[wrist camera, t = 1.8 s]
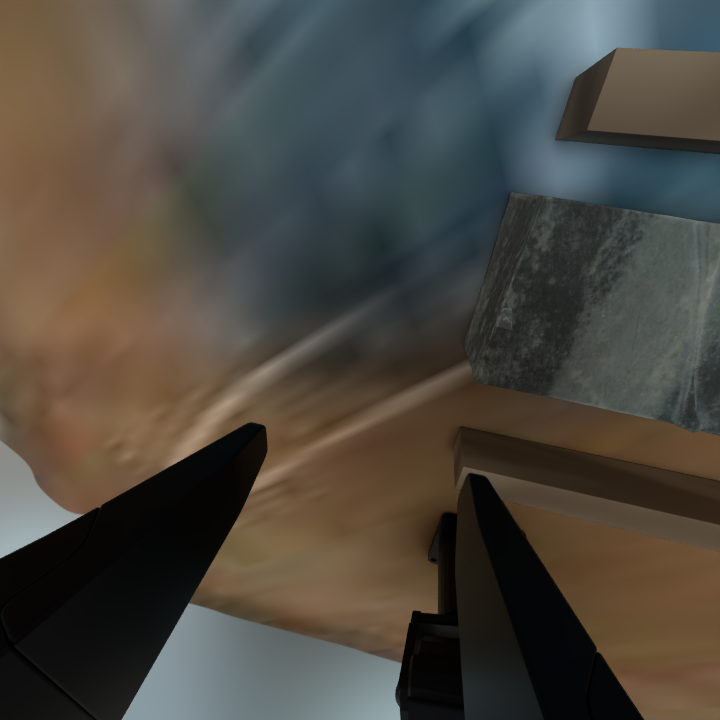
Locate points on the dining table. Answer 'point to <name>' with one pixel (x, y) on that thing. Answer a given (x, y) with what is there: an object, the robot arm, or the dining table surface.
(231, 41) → the dining table surface
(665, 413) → the stone block
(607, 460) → the chute
